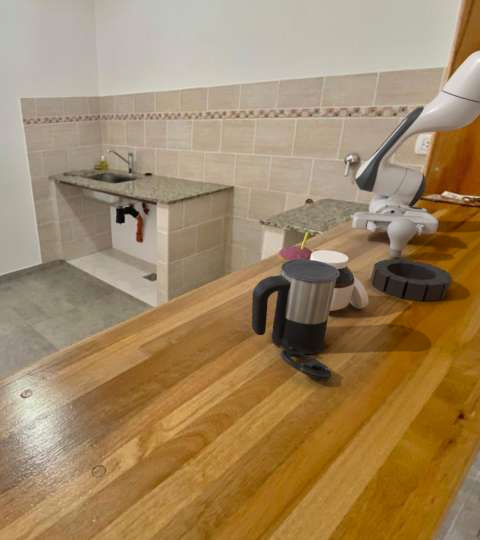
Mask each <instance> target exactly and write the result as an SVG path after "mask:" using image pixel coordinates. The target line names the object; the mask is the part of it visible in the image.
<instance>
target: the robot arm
mask: <svg viewBox="0 0 480 540" xmlns="http://www.w3.org/2000/svg"><path fill="white" fill-rule="evenodd" d="M479 115H480V49H479V50H477V51H475V52H473V53H471V54H470V55H469V56H468V57H467V58H466V59H465V60H464V61H463V62H462V63H461V64H460V65H459V67H458V68H457V69H456V70H455V71H454V72H453V74H451V76H450V78H449V79H448V80H447V82H446V83H445V85H444V86H443V87H442V89H441V90H440V91H439V93H438V95H436V97H434V98H433V99H432V100H431V101H430V102H429V103H427V104H426V105H424V106H420V107H416V108H415V109H413V110H412V111H411V112H409V114H408V115H406V117H405V118H404V119H403V120H402V121H401V122H400V123H399V124H398V125H397V126H396V128H395V129H393V131H392V132H391V133H390V135H389V136H388V137H387V138H386V139H385V140H384V142H383V143H382V144H381V145H380V146H379V147H378V148H377V150H376V151H374V153H373V154H372V155H371V156H370V157H369V158H368V159H367V160H366V161H365V162H364V163H363V164H362V165H361V166H360V167H359V169H358V170H357V172H356V174H355V177H354V182H355V184H356V186H357V187H358V189H359V190H360V191H365V192H368V193H374V194H375V196H373V197H372V198H371V200H370V202H369V204H368V211H357V212H355V213H354V214H351V215H350V216H349V217H350V220H352V222H351V223H352V224H351V228H352V229H355V230H363V231H364V230H365V231H370V232H372V233H380V232H382V233H387V228H388V226H389V224H390V223H391V222H392V221H394V220H396V219H400V218H405V219H409V220H411V221H412V222H414V224H415V225H416V233H415V235H414V236H421V235H422V234H423V235H434V234H436V233H437V231H438V227H439V220H438V219H437V217H435V215H433V214H431V213H429V212H428V209H427V208H424V207H418V206H415V205H416V204H418V202H419V201H420V199H421V198H422V197H423V195H424V193H425V191H426V188H427V179H426V176H425V174H424V173H423V172H420V171H418V170H415V169H412V168H409V167H405V166H402V165H398V164H395V163H393V162H390V161H389V160H390V159H391V157H392V156H393V155H394V154H395V153H396V152H397V151H398V150H399V149H400V147H402V146H403V144H404V143H405V142H406V141H407V140H409V139H410V138H411V137H413V136H415V135H417V134H419V135H420V134H424V133H435V132H438V133H439V132H451V131H455V130H458V129H462V128H464V127H466V126H468V125H470V124H471V123H473V122H474V121H475V120H476V119H477V118H478V117H479Z"/></svg>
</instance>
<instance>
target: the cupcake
mask: <svg viewBox="0 0 480 540" xmlns="http://www.w3.org/2000/svg"><path fill="white" fill-rule="evenodd" d="M309 235H310V229H308V230H307V231H306V232H305V235H304V238H303V241H302V244H301V245H289V246H286V247H283V248H282V249H280V250H279V252H278V254H277V258H278V261H279V262H280V263H281V265H282V264H283V263H285V262H287V261H290V260H302V259H305V260H310V258H311V254H312V253H313V252H314V251H312V250H311V249H309V248H307V247H306V244H307V241H308V237H309Z"/></svg>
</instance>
